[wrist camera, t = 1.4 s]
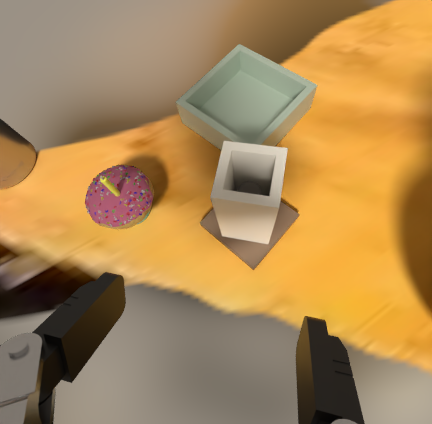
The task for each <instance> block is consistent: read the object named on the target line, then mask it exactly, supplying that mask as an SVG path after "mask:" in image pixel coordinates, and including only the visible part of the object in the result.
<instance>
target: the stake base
mask: <svg viewBox="0 0 432 424" xmlns="http://www.w3.org/2000/svg"><path fill="white" fill-rule="evenodd" d="M237 192H244V193H250V194H257V195H261V188H260V186H259V185H258V184H257V183H255V182H252V181H247V182H244V183H242V184H241V185H240V186H239V188H238V191H237ZM298 216H299V214H298V213H297V212H295V211H294V210H293V209H291V208H290V207H288V206H287V205H286V204H284V203H283V202H281V201H280V206H279V210H278V214H277V217H276V220H275V224H274V227H273V230H272V234H271V237H270V241H269V244H263V243H258V242H252V241H246V240H241V239H235V238H229V237H224V236H222V234H221V231H220V227H219V224H218V221H217V217H216V214H215V211H214V208H213V209H212V210H211V211H210V212H209V213H208V214H207V215H206V217H205V218H204V219H203V220H202V221H201V222H200V224H201V226H202V227H203V228H205V229H206V230H207V231H208V232H209V233H210V234H212V235H213V236H214V237H215V238H216V239H218V240H219V241H220V242H221V243H222V244H223V245H225V246H226V247H227V248H228V249H229V250H230V251H232V252H233V253H234V254H235V255H236V256H238V257H239V258H240V259H241V260H242V261H243V262H245V263H246V264H247V265H248V266H249V267H250V268H252V269H253V270H254V269H255V268H256V267H257V266H258V264H259V263H260V262H261V261H262V260H263V259H264V257H265V256H266V255H267V254H268V253H269V251H270V250H271V249H272V248H273V247H274V245H275V244H276V243H277V242H278V241H279V239H280V238H281V237H282V236H283V235H284V234H285V232H286V231H287V230H288V229H289V228H290V226H291V225H292V224H293V223H294V222H295V220H296V219H297V218H298Z"/></svg>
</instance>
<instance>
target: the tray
mask: <svg viewBox="0 0 432 424" xmlns="http://www.w3.org/2000/svg"><path fill="white" fill-rule="evenodd" d="M316 88H317V85H316V84H314V83H312V82H311V81H309V80H307V79H305V78H303V77H301V76H299V75H297V74H295V73H293V72H292V71H290V70H288V69H286V68H284V67H282V66H280V65H278V64H276V63H274V62H273V61H270V60H269V59H267V58H265V57H263V56H261V55H259V54H257V53H255V52H253V51H251V50H250V49H248V48H246V47H244V46H242V45H240V44H239V45H238V46H236V47H235V48H234V49H233V50H232V51H231V52H230V53H229V54H228V55H227V56H225V57H224V58H223V59H222V60H221V61H220V62H219V63H218V64H217V65H216V66H215V67H214V68H212V69H211V70H210V71H209V72H208V73H207V74H206V75H205V76H204V77H202V78H201V79H200V80H199V81H198V82H197V83H196V84H195V85H194V86H193V87H191V89H189V90H188V91H187V92H186V93H185V94H184V95H183V96H182V97H181V98H179V99H178V100H177V101H176V105H177V108H178V111H179V114H180V117H181V120H182V123H183V124H185V125H186V126H187V127H189V128H190V129H192V130H193V131H194V132H196V133H197V134H199V135H200V136H202V137H203V138H204V139H206V140H207V141H209V142H210V143H211V144H213V145H214V146H216V147H217V148H218V149H220V150H221V151H222V146H223V142H224V141H231V142H239V143H248V144H256V145H265V146H274V147H275V146H276V145H277V144H278V143H279V142H280V141H281V139H282V138H283V137H284V136H285V135H286V134H287V133H288V132H289V131H290V130H291V129H292V128H293V127H294V125H295V124H296V123H297V122H298V121H299V120H300V119H301V118H302V117H303V116H304V115H305V114H306V113H307V112H308V110H309V109H310V108H311V105H312V101H313V98H314V95H315V91H316Z"/></svg>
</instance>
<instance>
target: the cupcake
mask: <svg viewBox="0 0 432 424" xmlns="http://www.w3.org/2000/svg"><path fill="white" fill-rule="evenodd" d="M153 197H154V189H153V186H152V183H151V181H150V179H149V178H148V177H147V176H146V175H145V174H144V173H142V171H141V170H140V169H138V168H136V167H134V166H126V165H116V166H112V168H108V169H107V170H104V171H103V172H102V173H99V175H97V177H96V178H93V182H92V183H91V184H90V186H89V187H88V191H87V195H86V199H85V204H86V208H87V210H88V211H87V212H88V213H89V214H90V216H91V217H92V220H94V221H95V222H96V223H97V224H99V225H100V226H104V227H107V228H112V229H127V228H130V227H132V226H134V225H136V224H139V223H141V222H143V221H144V220H145V219H146V218H147V217H148V215H149V213H150V210H151V207H152V201H153Z"/></svg>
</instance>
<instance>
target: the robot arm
mask: <svg viewBox="0 0 432 424" xmlns="http://www.w3.org/2000/svg"><path fill="white" fill-rule="evenodd" d="M35 160H36V151H35V149H34V147H33V145H32V144H31V143H30V142H28V141H27V140H26V139H25V138H23V137H22V136H21V135H20V134H18V133H17V132H16V131H15V130H13V129H12V128H11V127H10V126H8V125H7V124H6V123H5V122H4V121H2V120H1V119H0V189H5V188H9V187H12V186H14V185H16V184H18V183H19V182H20V181H22V180H23V179H24V178H25V177H26V176H27V175H28V174H29V173H30V171H31V170H32V168H33V166H34V164H35ZM125 303H126V302H125V289H124V279H123V276H121V275H117V274H112V273H108V272H105V273H103V274H102V275H101V276H100V277H99V278H98V279H97V280H96V281H95V282H93V281H91V282H89V283H87V284H85V285H83V286H82V287H80V288H79V289H78V290H77V291H76V292H75V293H73V294H72V295H71V297H70V298H68V299H67V300H66V301H65V302H64V304H63V305H61V306H60V307H59V308H58V309H57V310H56V311H54V312H53V313H52V314H51V315H50V316H49V317H48V318H47V319H46V320H45V321H44V322H43V323H42V324H41V325H40V326H39V327H38V328H37V329H36V330H35V331H33V332H32V333H24V334H20V335H17V336H15V337H13V338H10V339H9V340H7V341H6V342H4V343H3V344H2V345H0V424H53V421H54V408H55V395H56V389H55V387H56V385H57V384H58V383H59V382H60V380H64V381H67V382H71V383H72V381H73V380H74V379H75V378H76V376H77V375H78V373H79V372H80V371H81V370H82V368H83V367H84V366H85V364H86V363H87V361H88V360H89V359H90V357H91V356H92V355H93V353H94V352H95V350H96V349H97V348H98V346H99V345H100V344H101V342H102V341H103V340H104V338H105V337H106V335H107V334H108V333H109V331H110V330H111V329H112V327H113V326H114V324H115V323H116V322H117V321H118V319H119V318H120V317H121V315H122V313H123V311H124V308H125ZM296 374H297V398H298V423H299V424H364V420H363V415H362V412H361V407H360V403H359V399H358V395H357V391H356V386H355V382H354V378H353V374H352V370H351V366H350V362H349V357H348V353H347V350H346V348H345V347H344V345H343V344H342V342H341V341H340V339H339V338H338V337H334V336H330V335H328V331H327V326H326V322H325V320H322V319H317V318H313V317H308V316H305V317H304V320H303V324H302V328H301V331H300V335H299V339H298V342H297V348H296Z"/></svg>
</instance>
